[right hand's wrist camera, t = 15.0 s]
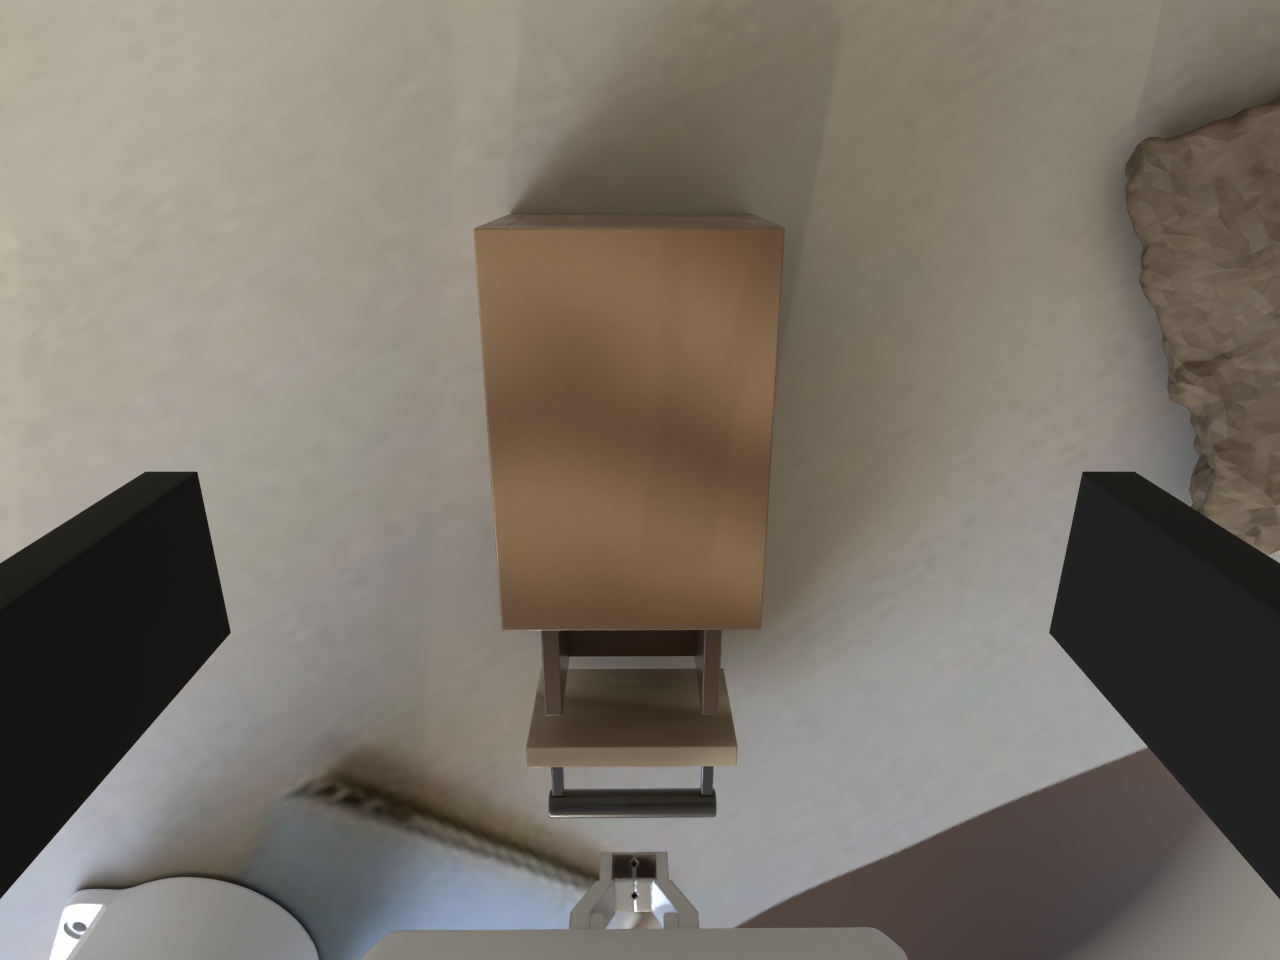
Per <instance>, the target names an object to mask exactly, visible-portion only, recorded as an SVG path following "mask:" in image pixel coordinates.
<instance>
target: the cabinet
mask: <svg viewBox="0 0 1280 960" xmlns="http://www.w3.org/2000/svg"><path fill="white" fill-rule="evenodd" d="M474 242H475V257H476V271H477V285H478V300H479V314H480V328H481V343H482V357H483V371H484V386H485V400H486V414H487V428H488V443H489V457H490V471H491V486H492V500H493V514H494V529H495V543H496V557H497V572H498V586H499V600H500V614H501V629H502V630H503V631H536V630H759V629H760V628H761V617H762V600H763V583H764V566H765V549H766V533H767V516H768V499H769V482H770V465H771V449H772V432H773V415H774V398H775V382H776V365H777V348H778V331H779V314H780V298H781V281H782V264H783V247H784V228H782V227H780V226H778V225H775V224H773V223H771V222H768V221H766V220H764V219H761V218H759V217H756V216H754V215H752V214H632V215H506V216H504V217H502V218H499V219H497V220H494V221H492V222H489V223H487V224H484V225H482V226H479V227H477V228H474Z"/></svg>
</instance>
